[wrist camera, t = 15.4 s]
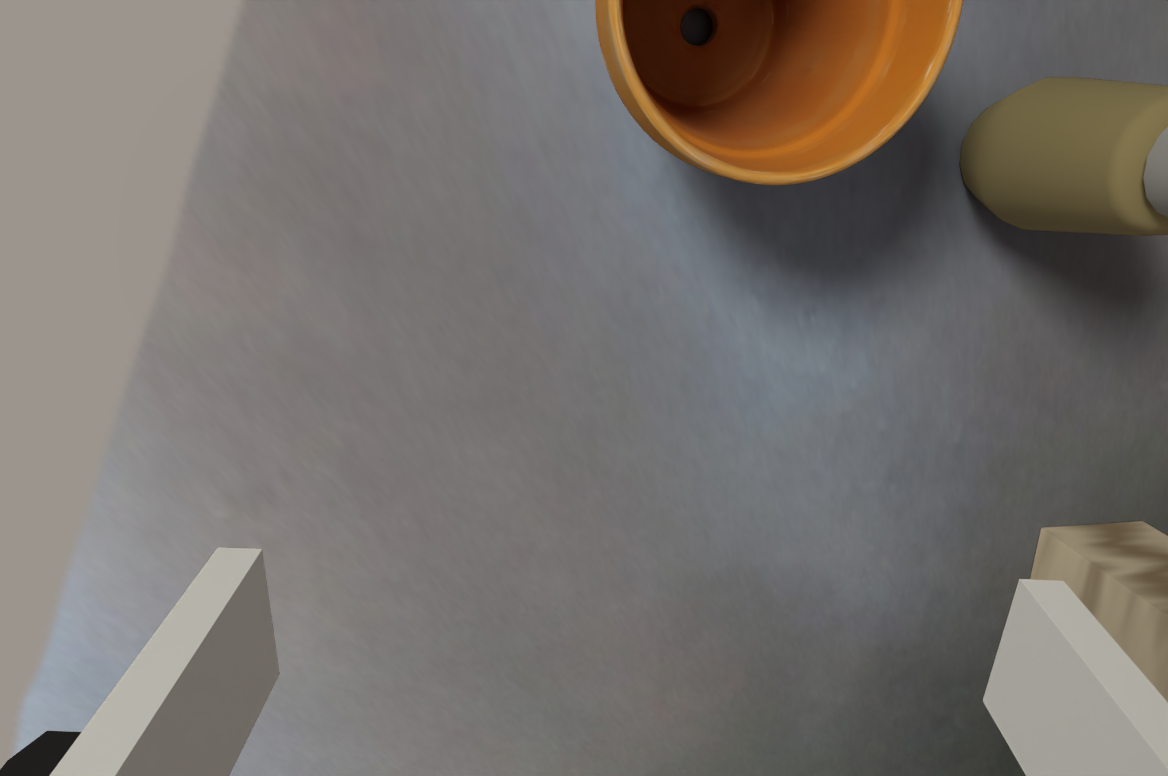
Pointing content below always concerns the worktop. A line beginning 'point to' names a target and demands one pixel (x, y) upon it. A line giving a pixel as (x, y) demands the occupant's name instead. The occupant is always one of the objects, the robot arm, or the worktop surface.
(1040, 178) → the squeeze bottle
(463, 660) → the worktop surface
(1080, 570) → the stand
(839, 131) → the flower pot
